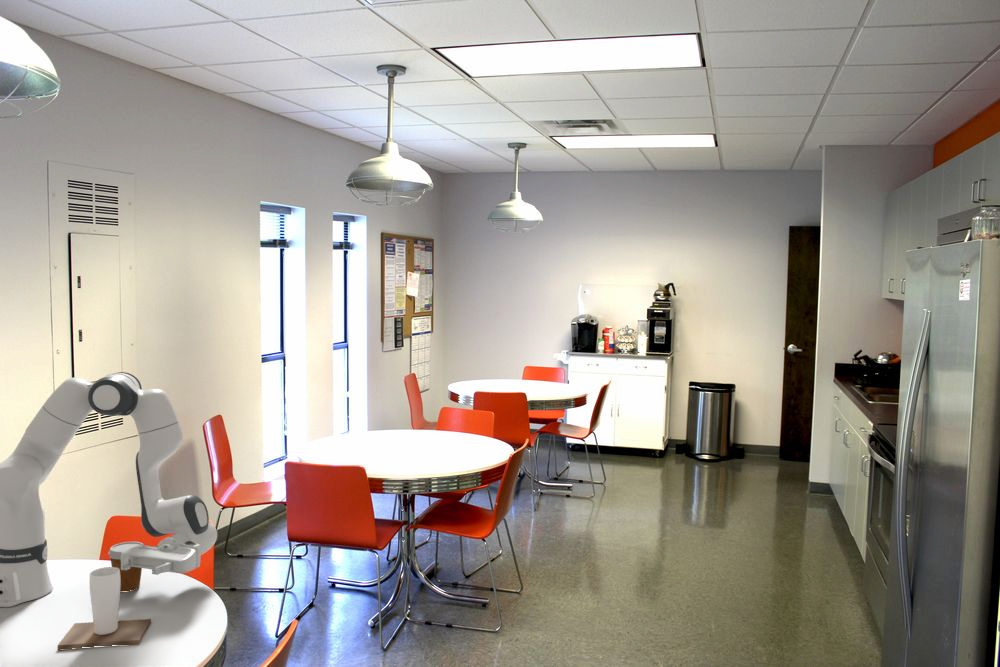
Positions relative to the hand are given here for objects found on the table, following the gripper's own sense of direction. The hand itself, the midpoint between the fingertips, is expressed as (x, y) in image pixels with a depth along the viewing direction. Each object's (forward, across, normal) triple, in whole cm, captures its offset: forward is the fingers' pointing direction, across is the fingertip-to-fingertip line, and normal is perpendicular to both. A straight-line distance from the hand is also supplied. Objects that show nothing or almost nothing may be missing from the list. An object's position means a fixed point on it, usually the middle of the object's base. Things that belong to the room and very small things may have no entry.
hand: (138, 569), depth 202 cm
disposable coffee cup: (-15, -16, +13) cm, 25 cm away
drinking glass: (+12, 0, +11) cm, 17 cm away
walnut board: (+12, +1, +12) cm, 17 cm away
